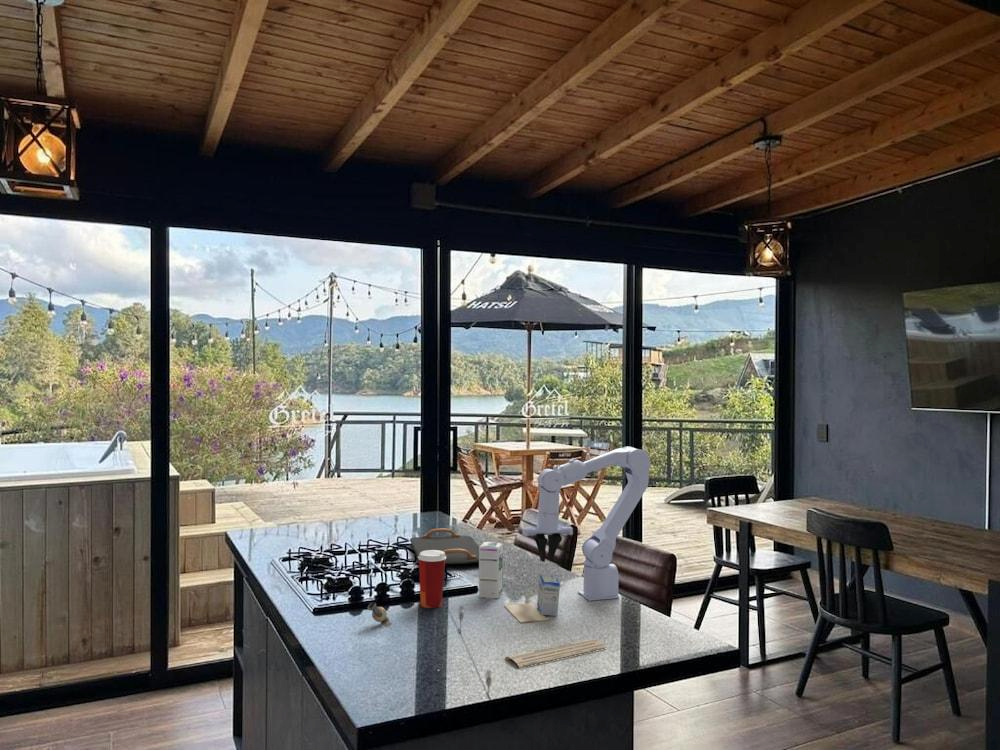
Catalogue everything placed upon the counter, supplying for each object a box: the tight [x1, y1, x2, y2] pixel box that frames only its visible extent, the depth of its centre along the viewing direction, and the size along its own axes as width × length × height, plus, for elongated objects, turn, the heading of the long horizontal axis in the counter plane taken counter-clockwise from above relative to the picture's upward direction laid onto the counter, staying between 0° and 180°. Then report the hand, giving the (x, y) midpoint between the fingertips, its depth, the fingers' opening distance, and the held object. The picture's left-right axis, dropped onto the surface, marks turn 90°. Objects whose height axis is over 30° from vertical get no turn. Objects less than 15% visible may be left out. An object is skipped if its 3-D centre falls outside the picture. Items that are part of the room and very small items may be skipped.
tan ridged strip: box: [504, 638, 607, 670], centre depth 160 cm, size 24×7×2 cm, turn 121°
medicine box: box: [536, 573, 561, 617], centre depth 188 cm, size 8×4×9 cm, turn 5°
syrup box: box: [478, 541, 504, 600], centre depth 201 cm, size 6×6×14 cm
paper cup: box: [417, 550, 446, 609], centre depth 191 cm, size 8×8×14 cm
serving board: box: [409, 527, 480, 565], centre depth 245 cm, size 39×23×6 cm, turn 13°
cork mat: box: [504, 602, 549, 624], centre depth 186 cm, size 8×13×1 cm, turn 18°
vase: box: [367, 601, 393, 629], centre depth 175 cm, size 5×5×6 cm
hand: (546, 560), depth 199 cm, fingers closed
